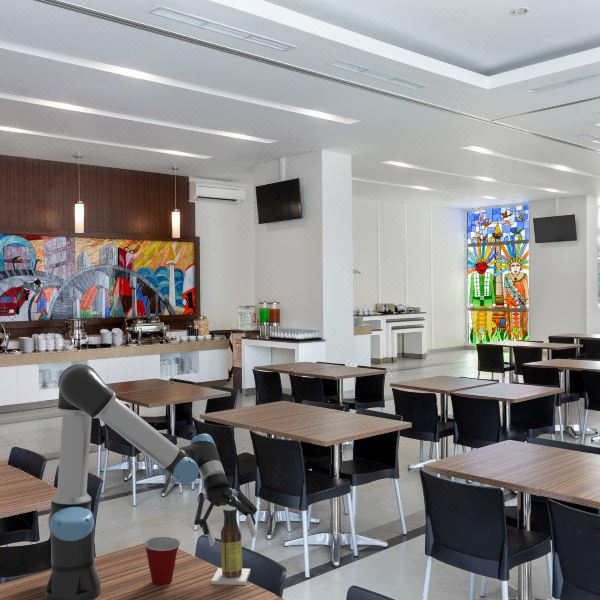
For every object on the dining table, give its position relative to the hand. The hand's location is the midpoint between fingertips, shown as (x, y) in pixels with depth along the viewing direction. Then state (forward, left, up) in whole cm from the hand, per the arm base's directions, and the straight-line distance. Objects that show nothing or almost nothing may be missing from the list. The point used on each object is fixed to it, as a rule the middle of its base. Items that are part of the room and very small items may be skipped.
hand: (234, 539), depth 207 cm
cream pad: (-1, +2, -12) cm, 12 cm away
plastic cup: (-21, -2, -12) cm, 25 cm away
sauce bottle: (-1, +2, -11) cm, 12 cm away
